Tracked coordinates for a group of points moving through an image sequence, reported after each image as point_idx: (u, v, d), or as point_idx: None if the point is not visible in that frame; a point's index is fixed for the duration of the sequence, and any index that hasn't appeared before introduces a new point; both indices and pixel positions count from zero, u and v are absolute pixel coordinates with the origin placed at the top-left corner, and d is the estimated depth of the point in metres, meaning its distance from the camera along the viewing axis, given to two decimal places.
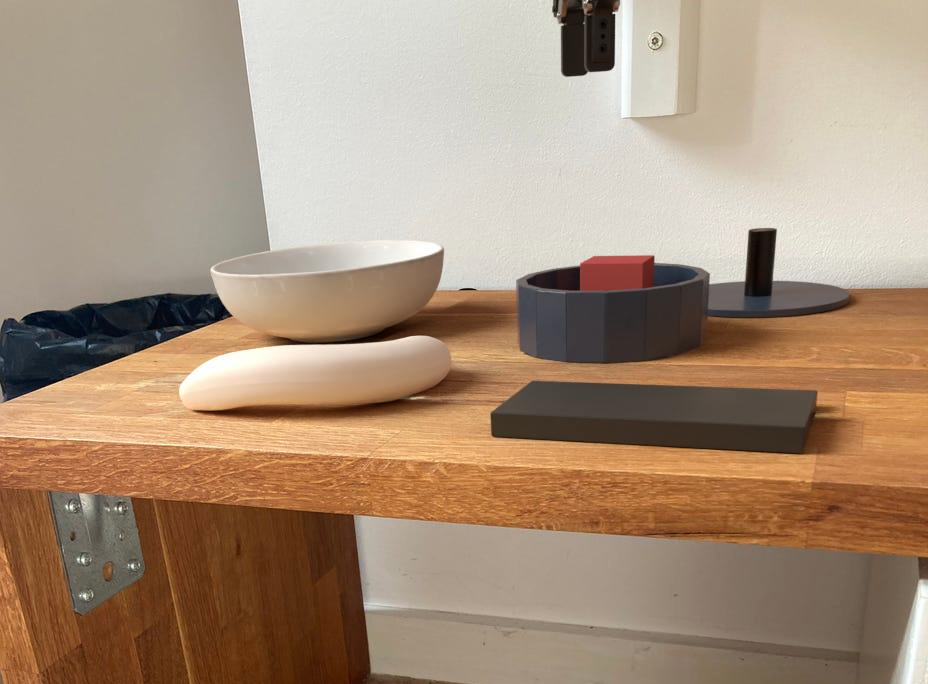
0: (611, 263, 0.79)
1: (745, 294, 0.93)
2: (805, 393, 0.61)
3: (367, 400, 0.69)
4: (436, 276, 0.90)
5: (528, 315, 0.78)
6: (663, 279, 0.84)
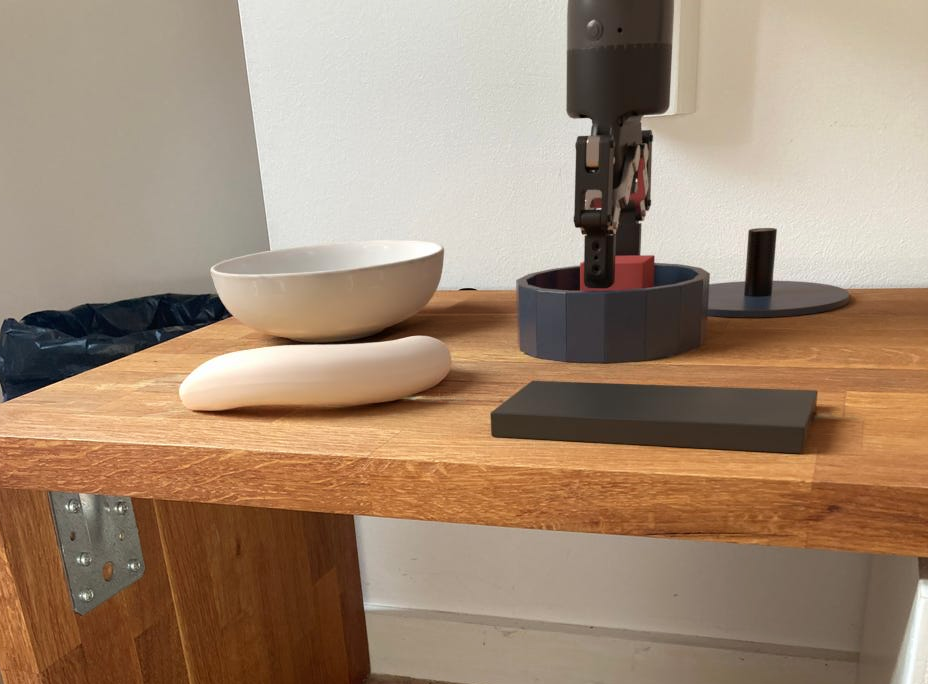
0: None
1: (745, 294, 0.93)
2: (805, 393, 0.61)
3: (367, 400, 0.69)
4: (436, 276, 0.90)
5: (528, 315, 0.78)
6: (663, 279, 0.84)
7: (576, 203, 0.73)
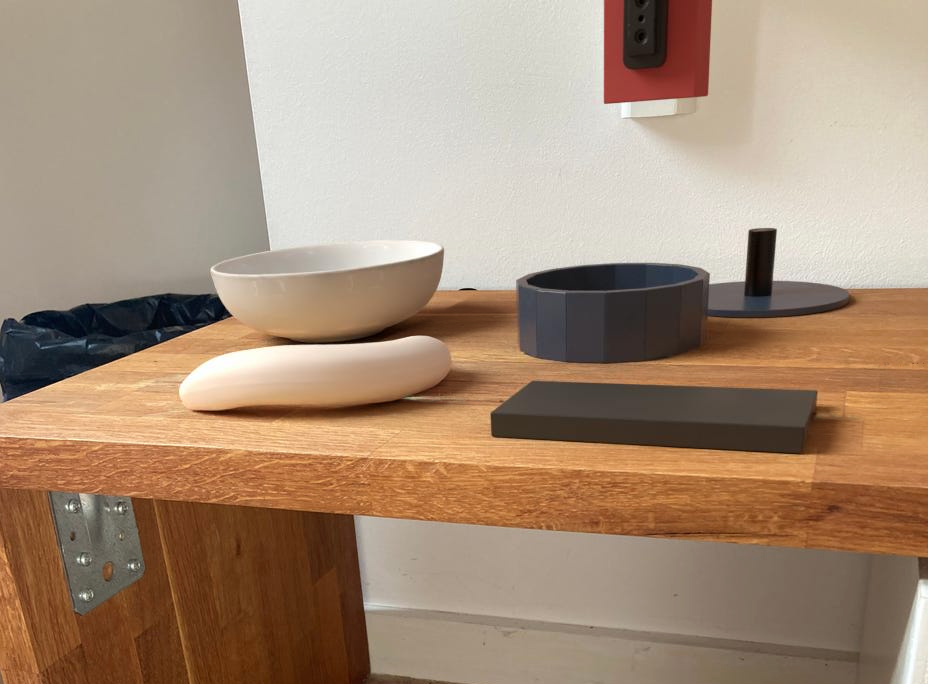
0: None
1: (745, 294, 0.93)
2: (805, 393, 0.61)
3: (367, 400, 0.69)
4: (436, 276, 0.90)
5: (528, 315, 0.78)
6: (663, 279, 0.84)
7: None
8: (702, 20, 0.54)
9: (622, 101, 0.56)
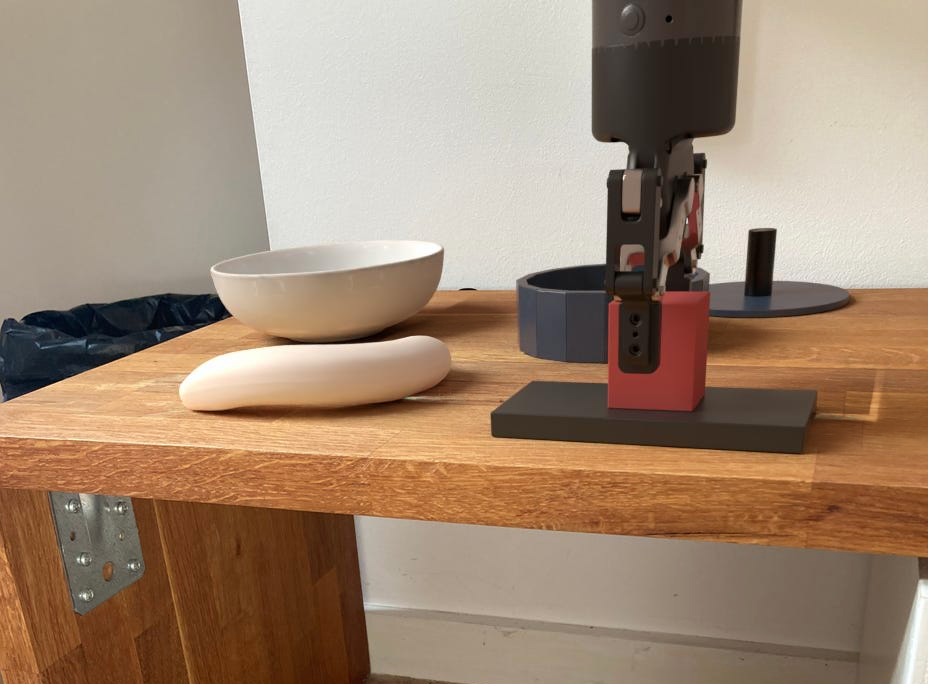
0: None
1: (745, 294, 0.93)
2: (805, 393, 0.61)
3: (367, 400, 0.69)
4: (436, 276, 0.90)
5: (528, 315, 0.78)
6: None
7: (608, 263, 0.52)
8: (700, 344, 0.58)
9: (625, 408, 0.60)
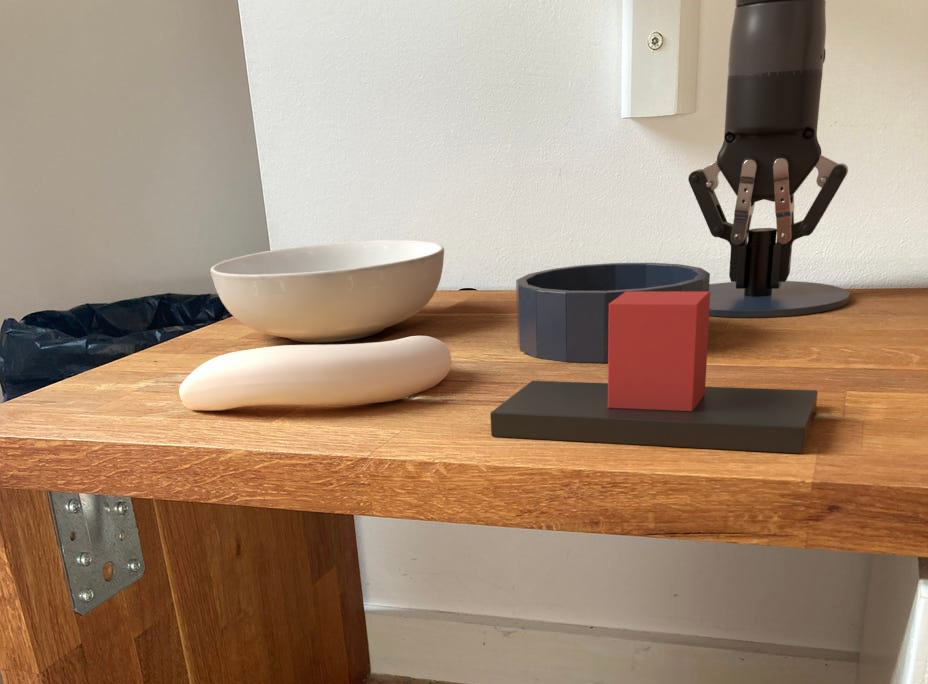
0: (652, 304, 0.57)
1: (745, 294, 0.93)
2: (805, 393, 0.61)
3: (367, 400, 0.69)
4: (436, 276, 0.90)
5: (528, 315, 0.78)
6: (663, 279, 0.84)
7: None
8: (700, 344, 0.58)
9: (625, 408, 0.60)
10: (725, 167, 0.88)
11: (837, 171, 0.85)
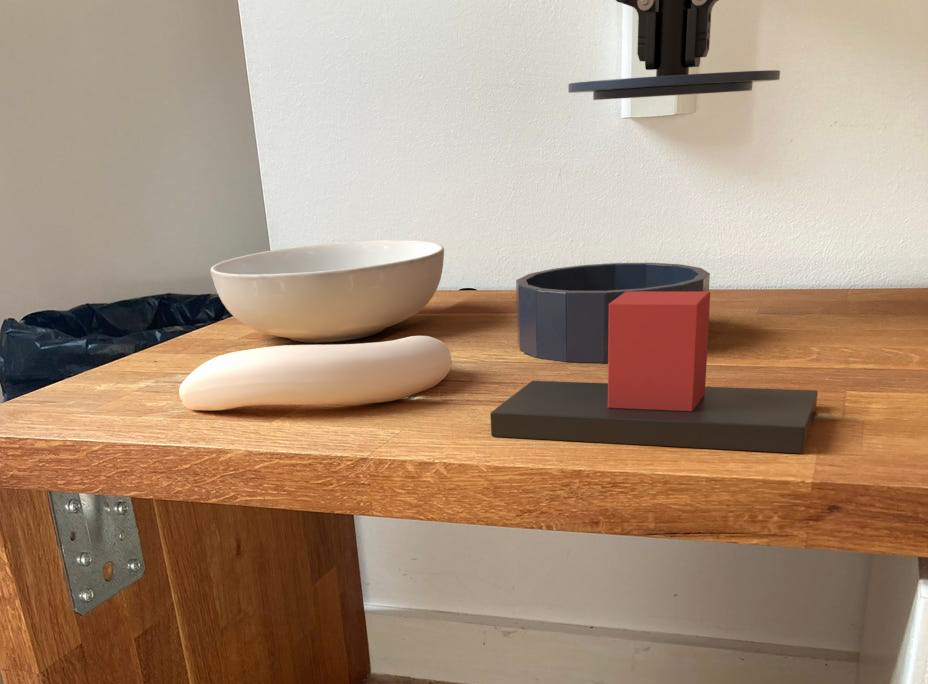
0: (652, 304, 0.57)
1: None
2: (805, 393, 0.61)
3: (367, 400, 0.69)
4: (436, 276, 0.90)
5: (528, 315, 0.78)
6: (663, 279, 0.84)
7: None
8: (700, 344, 0.58)
9: (625, 408, 0.60)
10: None
11: None
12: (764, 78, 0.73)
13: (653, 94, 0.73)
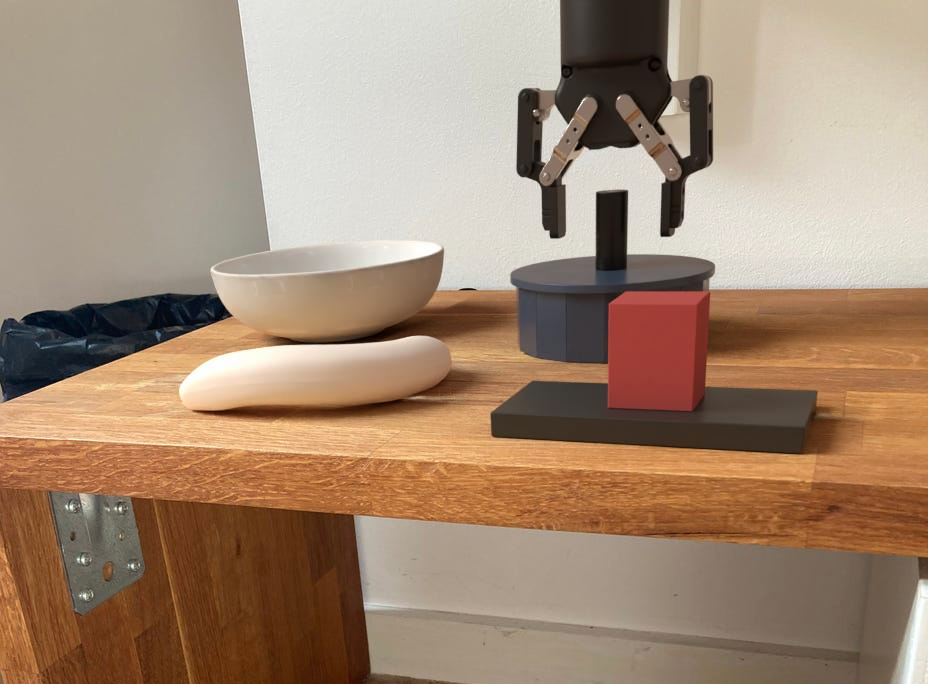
0: (652, 304, 0.57)
1: (596, 268, 0.79)
2: (805, 393, 0.61)
3: (367, 400, 0.69)
4: (436, 276, 0.90)
5: (528, 315, 0.78)
6: None
7: None
8: (700, 344, 0.58)
9: (625, 408, 0.60)
10: (559, 104, 0.74)
11: (695, 84, 0.70)
12: (698, 281, 0.74)
13: None
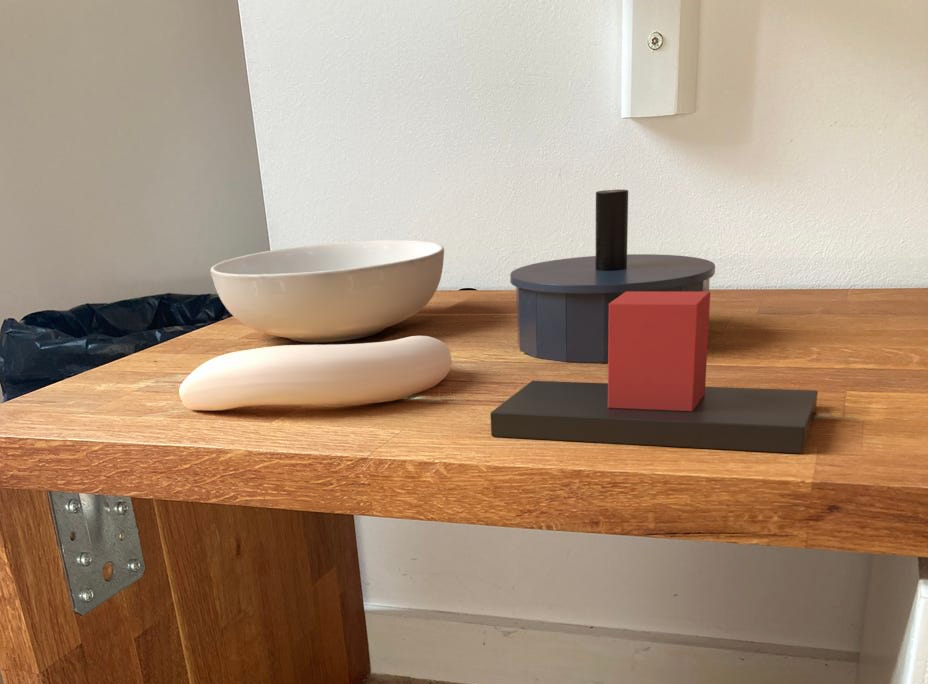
0: (652, 304, 0.57)
1: (596, 268, 0.79)
2: (805, 393, 0.61)
3: (367, 400, 0.69)
4: (436, 276, 0.90)
5: (528, 315, 0.78)
6: None
7: None
8: (700, 344, 0.58)
9: (625, 408, 0.60)
10: None
11: None
12: (698, 281, 0.74)
13: None
